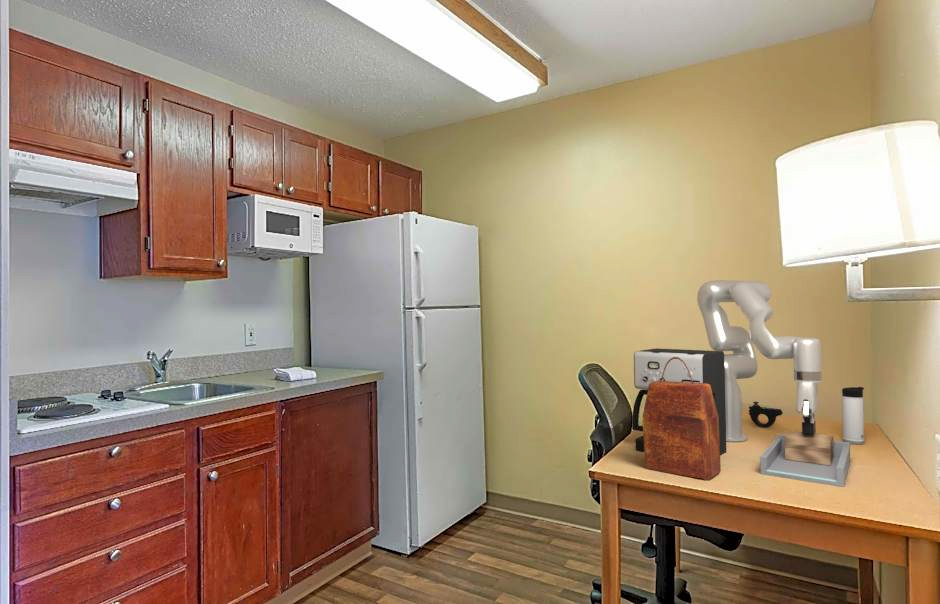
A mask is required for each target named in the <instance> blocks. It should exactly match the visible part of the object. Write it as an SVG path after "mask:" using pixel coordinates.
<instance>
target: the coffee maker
mask: <svg viewBox="0 0 940 604" xmlns="http://www.w3.org/2000/svg"><path fill="white" fill-rule="evenodd" d="M724 354H725V351H715V350H704V349H703V350H700V349H681V348H680V349H679V348H678V349H677V348H676V349H675V348H649V349H642V350H636V351H635V352H634V353H633V375H634V376H633V379H634V381H633V382H634V383H633V385H634V388H635V389H639V391H638V393H637V396H636V397H635V401H634V404H633V411H632V416H631V417H632V418H631V429H632V431H635V432H636V431H637V432H638V431H639V432H643V425H640V424H639V418H640V410H641V404H642V401H643V399H644V396H647V392H648V387H649V384H650V383H652V382H656V381H661V380H662V375H663V370H664V368H665V366H666V363H667V362H668V361H669V360H670V359H671V358H673V357H679V358H680V359H682V360H683V361H684V363H685V364H686V365H687V367H688V369H689V372H690V374H691V377H692V381H693V383H708V384H709V385H710V386H711V390H712V393H713V397H714V401H715V405H716V409H717V413H718V416H719V439H720V456H722V455H724V454H725V453H727V441H726V408H725V364H724ZM684 363H683V362H682V361H680V360H679V359H673V360H671V361H670V362H669V363H668V364H667V366H666V369H665V371H664V375H663V381H673V382H690V383H692V382H691V378H690V375H689V372H688V370H687V368H686V366H685V365H684ZM634 441H635V451H636V452H640V453H644V435H641V436H639V437H636V438H635V440H634Z"/></svg>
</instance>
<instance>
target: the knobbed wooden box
mask: <svg viewBox="0 0 940 604" xmlns="http://www.w3.org/2000/svg"><path fill="white" fill-rule="evenodd" d="M810 418H811V417H810ZM813 423H814V417H813ZM785 435H786V436H785V443H784V445H785V459H787V460H794V461H801V462H808V463H816V464H823V465H830V466H831V463H832V461H833V458H834V450H833V446H834V441H835V440H834V435H833V434H832V435H831V434H823V433H814V436H807V435H802V431H796V430H789V431H788V432H787V433H786V434H785Z"/></svg>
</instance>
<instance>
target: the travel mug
mask: <svg viewBox="0 0 940 604" xmlns="http://www.w3.org/2000/svg"><path fill="white" fill-rule="evenodd" d="M864 390H865V387H862V386H858V387H857V386H856V387H853V386H851V387H843V388H842V389H841V393H842V395H841V405H842V406H841V407H842V408H841V409H842V410H841V412H842V413H841V414H842V415H841V416H842V442H850V445H857V446H858V445H864V444H865V415H864V414H865V413H864V409H865V408H864Z"/></svg>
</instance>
